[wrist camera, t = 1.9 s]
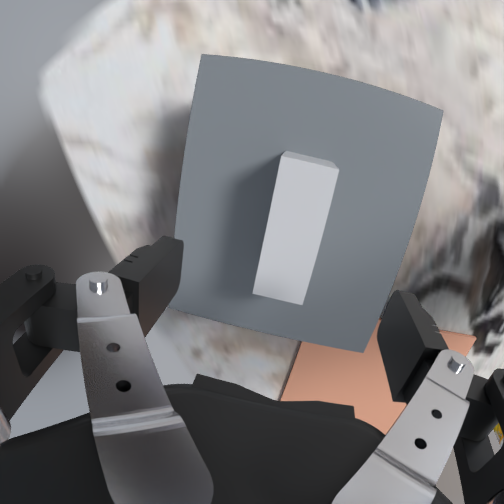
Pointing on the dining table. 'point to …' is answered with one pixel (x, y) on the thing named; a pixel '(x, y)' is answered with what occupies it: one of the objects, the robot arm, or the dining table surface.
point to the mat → (353, 378)
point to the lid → (298, 199)
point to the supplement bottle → (499, 434)
